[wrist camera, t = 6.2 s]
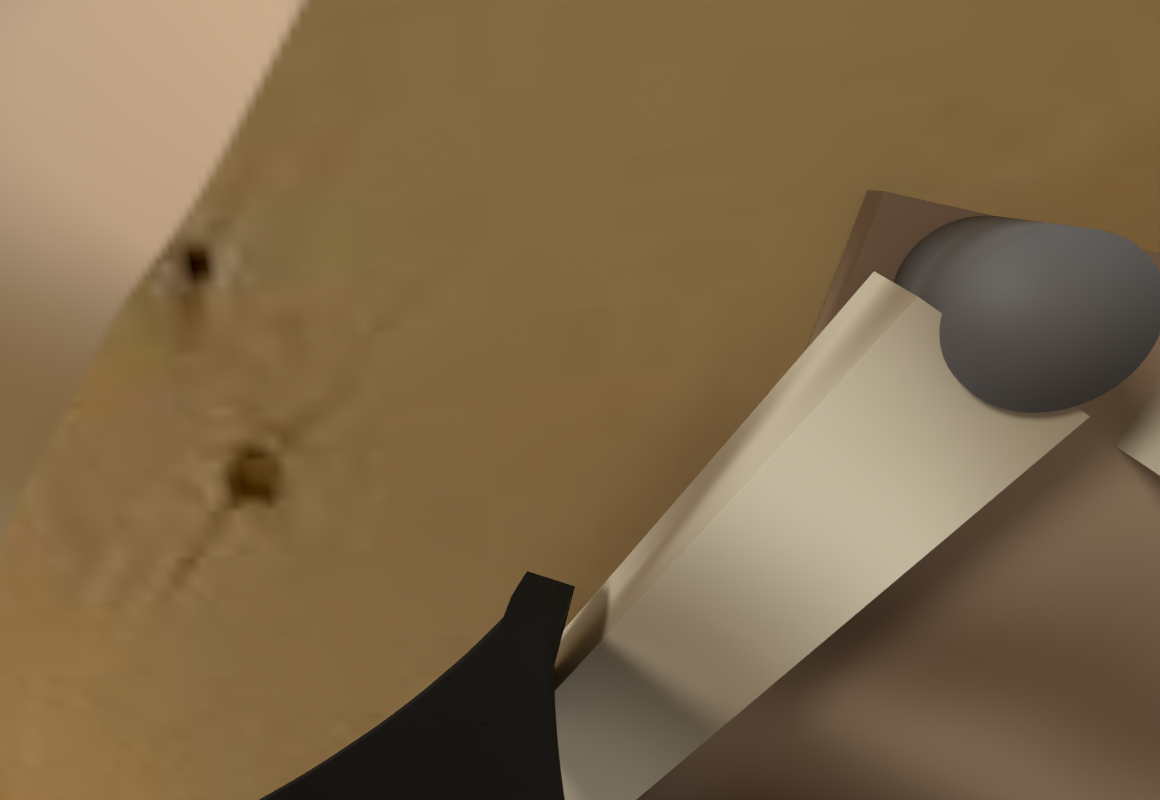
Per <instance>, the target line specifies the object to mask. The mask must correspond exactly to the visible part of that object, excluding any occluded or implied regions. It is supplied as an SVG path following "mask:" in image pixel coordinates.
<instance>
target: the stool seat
mask: <svg viewBox="0 0 1160 800" xmlns="http://www.w3.org/2000/svg"><path fill="white" fill-rule="evenodd" d="M974 216H991V215H986V214H982V213H977V212H973V211H968V210H964V209H960V208H955V207H951V206H946V205H942V204H937V203H933V202H929V201H924V200H920V199H915V198H911V197H906V196H902V195H897V194H893V193H889V192H884V191H869V190H868V191H867V194H866V196H865V199H864V201H863V204H862V207H861V209H860V212H859V215H858V217H857V220H856V222H855V225H854V228H853V230H852V233H851V235H850V238H849V241H848V243H847V246H846V248H845V251H844V254H843V256H842V259H841V261H840V264H839V267H838V269H837V272H836V274H835V277H834V280H833V282H832V285H831V288H830V290H829V293H828V295H827V298H826V301H825V303H824V306H823V308H822V311H821V314H820V316H819V319H818V321H817V324H816V327H815V329H814V332H813V334H812V337H811V340H810V342H809V345H808V347H809V346H810V345H811V344H812V342H813V341H814V340H815V339H816V338H817V337H818V336H819V334H820V333H821V332H822V331H823V330H824V329H825V327H826V326H827V325H828V324H829V323H830V322H831V321H832V319H833V318H834V317H835V316H836V315H837V314H838V312H839V311H840V310H841V309H842V308H843V307H844V305H845V304H846V303H847V302H848V301H849V300H850V299H851V297H852V296H853V295H854V294H855V293H856V292H857V290H858V289H859V288H860V287H861V286H862V285H863V283H864V282H865V281H866V280H867V279H868V278H869V277H870V275H871V274H872V273H873V272H876V273H878V274H880V275H881V276H883V277H885V278H887V279H888V280H890V281H892V282H894V279H895V276H896V274H897V271H898V269H899V267H900V265H901V264H902V262H903V260H904V259H905V257H906V256H907V255H908V253H909V252H910V251H911V249H912V248H913V247H914V246H915V245H916V244H917V243H918V242H919V241H921V240H922V239H923V238H924V237H926V236H927V235H928V234H930V233H931V232H933V231H934V230H936V229H938V228H940V227H942V226H944V225H946V224H948V223H951V222H953V221H956V220H959V219H963V218H967V217H974ZM1143 251H1144V252H1146V253H1147V255H1148V256H1149V257H1150V258H1151V259H1152V261H1153V262H1154V263H1155V265H1156V267H1157V268H1158V270H1159V272H1160V254H1159V253H1155V252H1150V251H1146V250H1143ZM808 347H807V348H808ZM1076 407H1077V408H1078V409H1080V410H1081V411H1083V412H1084V413H1086V414H1087V415H1089V416H1090V417H1089V418H1088V419H1087V420H1085V421H1084V422H1083V423H1082V424H1081V425H1079V426H1078V427H1077V428H1076V429H1075V430H1074V431H1072V432H1071V433H1070V434H1069V435H1068V436H1066V437H1065V438H1064V439H1063V440H1062V441H1060V442H1059V443H1058V444H1057V445H1056V446H1055V447H1053V448H1052V449H1051V450H1050V451H1049V452H1047V453H1046V454H1045V455H1044V456H1043V457H1042V458H1040V459H1039V460H1038V461H1037V462H1036V463H1034V464H1033V465H1032V466H1031V467H1030V468H1029V469H1027V470H1026V471H1025V472H1024V473H1023V474H1021V475H1020V476H1019V477H1018V478H1017V479H1015V480H1014V481H1013V482H1012V483H1011V484H1010V485H1008V486H1007V487H1006V488H1005V489H1004V490H1002V491H1001V492H1000V493H999V494H998V495H997V496H995V497H994V498H993V499H992V500H991V501H989V502H988V503H987V504H986V505H985V506H984V507H982V508H981V509H980V510H979V511H978V512H976V513H975V514H974V515H973V516H972V517H970V518H969V519H968V520H967V521H966V522H965V523H963V524H962V525H961V526H960V527H959V528H957V529H956V530H955V531H954V532H953V533H952V534H950V535H949V536H948V537H947V538H946V539H944V540H943V541H942V542H941V543H940V544H938V545H937V546H936V547H935V548H934V549H933V550H931V551H930V552H929V553H928V554H927V555H925V556H924V557H923V558H922V559H921V560H920V561H918V562H917V563H916V564H915V565H914V566H912V567H911V568H910V569H909V570H908V571H907V572H905V573H904V574H903V575H902V576H901V577H899V578H898V579H897V580H896V581H895V582H893V583H892V584H891V585H890V586H889V587H888V588H886V589H885V590H884V591H883V592H882V593H880V594H879V595H878V596H877V597H876V598H875V599H873V600H872V601H871V602H870V603H869V604H867V605H866V606H865V607H864V608H863V609H862V610H860V611H859V612H858V613H857V614H856V615H854V616H853V617H852V618H851V619H850V620H848V621H847V622H846V623H845V624H844V625H843V626H841V627H840V628H839V629H838V630H837V631H835V632H834V633H833V634H832V635H831V636H830V637H828V638H827V639H826V640H825V641H824V642H822V643H821V644H820V645H819V646H818V647H817V648H815V649H814V650H813V651H812V652H811V653H809V654H808V655H807V656H806V657H805V658H803V659H802V660H801V661H800V662H799V663H798V664H796V665H795V666H794V667H793V668H792V669H790V670H789V671H788V672H787V673H786V674H785V675H783V676H782V677H781V678H780V679H779V680H777V681H776V682H775V683H774V684H773V685H771V686H770V687H769V688H768V689H767V690H766V691H764V692H763V693H762V694H761V695H760V696H758V697H757V698H756V699H755V700H754V701H753V702H751V703H750V704H749V705H748V706H747V707H745V708H744V709H743V710H742V711H741V712H740V713H738V714H737V715H736V716H735V717H734V718H732V719H731V720H730V721H729V722H728V723H726V724H725V725H724V726H723V727H722V728H721V729H719V730H718V731H717V732H716V733H715V734H713V735H712V736H711V737H710V738H709V739H708V740H706V741H705V742H704V743H703V744H702V745H700V746H699V747H698V748H697V749H696V750H695V751H693V752H692V753H691V754H690V755H689V756H687V757H686V758H685V759H684V760H683V761H681V762H680V763H679V764H678V765H677V766H676V767H674V768H673V769H672V770H671V771H670V772H668V773H667V774H666V775H665V776H664V777H663V778H661V779H660V780H659V781H658V782H657V783H655V784H654V785H653V786H652V787H651V788H650V789H648V790H647V791H646V792H645V793H644V794H642V795H641V796H640V797H639V798H638V799H636V800H1160V335H1159V337H1158V339H1157V341H1156V343H1155V345H1154V347H1153V348H1152V350H1151V351H1150V353H1149V354H1148V356H1147V357H1146V359H1145V360H1144V361H1143V362H1142V363H1141V365H1140V366H1139V367H1138V368H1137V369H1136V370H1135V371H1134V372H1133V373H1132V374H1131V375H1130V376H1129V377H1128V378H1127V379H1125V380H1124V381H1123V382H1121V383H1120V384H1119V385H1117V386H1116V387H1115V388H1113V389H1111V390H1110V391H1108V392H1107V393H1105V394H1103V395H1101V396H1099V397H1097V398H1095V399H1093V400H1091V401H1089V402H1086V403H1083V404H1081V405H1078V406H1076Z"/></svg>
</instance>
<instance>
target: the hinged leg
mask: <svg viewBox="0 0 1160 800" xmlns="http://www.w3.org/2000/svg"><path fill="white" fill-rule="evenodd" d="M1159 335H1160V272H1159V270H1158V268H1157V267H1156V265H1155V263H1154V262H1153V261H1152V259H1151V258H1150V257H1149V256H1148V255H1147V253H1146V252H1144V251H1143V250H1142V249H1141V248H1140V247H1138V246H1137V245H1136V244H1134V243H1132V242H1131V241H1129V240H1127V239H1126V238H1124V237H1121V236H1119V235H1116V234H1114V233H1111V232H1107V231H1103V230H1099V229H1091V228H1083V227H1075V226H1068V225H1060V224H1052V223H1044V222H1036V221H1029V220H1021V219H1013V218H1005V217H997V216H974V217H967V218H963V219H959V220H956V221H953V222H951V223H948V224H946V225H944V226H942V227H940V228H938V229H936V230H934V231H933V232H931V233H930V234H928V235H927V236H926V237H924V238H923V239H922V240H921V241H919V242H918V243H917V244H916V245H915V246H914V247H913V248H912V249H911V251H910V252H909V253H908V255H907V256H906V257H905V259H904V260H903V262H902V264H901V265H900V267H899V269H898V271H897V274H896V276H895V279H894V282H892V281H890V280H888V279H887V278H885V277H883V276H881V275H880V274H878V273H876V272H873V273H872V274H871V275H870V277H869V278H868V279H867V280H866V281H865V282H864V283H863V285H862V286H861V287H860V288H859V289H858V290H857V292H856V293H855V294H854V295H853V296H852V297H851V299H850V300H849V301H848V302H847V303H846V304H845V305H844V307H843V308H842V309H841V310H840V311H839V312H838V314H837V315H836V316H835V317H834V318H833V319H832V321H831V322H830V323H829V324H828V325H827V326H826V327H825V329H824V330H823V331H822V332H821V333H820V334H819V336H818V337H817V338H816V339H815V340H814V341H813V342H812V344H811V345H810V346H809V347H808V348H807V349H806V351H805V352H804V353H803V354H802V355H801V356H800V358H799V359H798V360H797V361H796V362H795V363H794V364H793V366H792V367H791V368H790V369H789V370H788V371H787V373H786V374H785V375H784V376H783V377H782V378H781V379H780V381H779V382H778V383H777V384H776V385H775V386H774V388H773V389H772V390H771V391H770V392H769V393H768V395H767V396H766V397H765V398H764V399H763V400H762V401H761V403H760V404H759V405H758V406H757V407H756V408H755V410H754V411H753V412H752V413H751V414H750V415H749V417H748V418H747V419H746V420H745V421H744V422H743V423H742V425H741V426H740V427H739V428H738V429H737V430H736V432H735V433H734V434H733V435H732V436H731V437H730V438H729V440H728V441H727V442H726V443H725V444H724V445H723V447H722V448H721V449H720V450H719V451H718V452H717V454H716V455H715V456H714V457H713V458H712V459H711V460H710V462H709V463H708V464H707V465H706V466H705V467H704V469H703V470H702V471H701V472H700V473H699V474H698V475H697V477H696V478H695V479H694V480H693V481H692V482H691V484H690V485H689V486H688V487H687V488H686V489H685V491H684V492H683V493H682V494H681V495H680V496H679V497H678V499H677V500H676V501H675V502H674V503H673V504H672V506H671V507H670V508H669V509H668V510H667V511H666V513H665V514H664V515H663V516H662V517H661V518H660V519H659V521H658V522H657V523H656V524H655V525H654V526H653V528H652V529H651V530H650V531H649V532H648V533H647V534H646V536H645V537H644V538H643V539H642V540H641V541H640V543H639V544H638V545H637V546H636V547H635V548H634V550H633V551H632V552H631V553H630V554H629V555H628V556H627V558H626V559H625V560H624V561H623V562H622V563H621V565H620V566H619V567H618V568H617V569H616V570H615V572H614V573H613V574H612V575H611V576H610V577H609V578H608V580H607V581H606V582H605V583H604V584H603V585H602V587H601V588H600V589H599V590H598V591H597V592H596V593H595V595H594V596H593V597H592V598H591V599H590V600H589V602H588V603H587V604H586V605H585V606H584V607H583V609H582V610H581V611H580V612H579V613H578V614H577V615H576V617H575V618H574V619H573V620H572V621H571V622H570V624H569V625H568V626H567V627H566V628H565V629H564V630H563V634H562V638H561V642H560V646H559V650H558V654H557V658H556V662H555V709H556V724H557V738H558V748H559V758H560V767H561V776H562V783H563V790H564V798H565V800H636V799H638V798H639V797H640V796H641V795H642V794H644V793H645V792H646V791H647V790H648V789H650V788H651V787H652V786H653V785H654V784H655V783H657V782H658V781H659V780H660V779H661V778H663V777H664V776H665V775H666V774H667V773H668V772H670V771H671V770H672V769H673V768H674V767H676V766H677V765H678V764H679V763H680V762H681V761H683V760H684V759H685V758H686V757H687V756H689V755H690V754H691V753H692V752H693V751H695V750H696V749H697V748H698V747H699V746H700V745H702V744H703V743H704V742H705V741H706V740H708V739H709V738H710V737H711V736H712V735H713V734H715V733H716V732H717V731H718V730H719V729H721V728H722V727H723V726H724V725H725V724H726V723H728V722H729V721H730V720H731V719H732V718H734V717H735V716H736V715H737V714H738V713H740V712H741V711H742V710H743V709H744V708H745V707H747V706H748V705H749V704H750V703H751V702H753V701H754V700H755V699H756V698H757V697H758V696H760V695H761V694H762V693H763V692H764V691H766V690H767V689H768V688H769V687H770V686H771V685H773V684H774V683H775V682H776V681H777V680H779V679H780V678H781V677H782V676H783V675H785V674H786V673H787V672H788V671H789V670H790V669H792V668H793V667H794V666H795V665H796V664H798V663H799V662H800V661H801V660H802V659H803V658H805V657H806V656H807V655H808V654H809V653H811V652H812V651H813V650H814V649H815V648H817V647H818V646H819V645H820V644H821V643H822V642H824V641H825V640H826V639H827V638H828V637H830V636H831V635H832V634H833V633H834V632H835V631H837V630H838V629H839V628H840V627H841V626H843V625H844V624H845V623H846V622H847V621H848V620H850V619H851V618H852V617H853V616H854V615H856V614H857V613H858V612H859V611H860V610H862V609H863V608H864V607H865V606H866V605H867V604H869V603H870V602H871V601H872V600H873V599H875V598H876V597H877V596H878V595H879V594H880V593H882V592H883V591H884V590H885V589H886V588H888V587H889V586H890V585H891V584H892V583H893V582H895V581H896V580H897V579H898V578H899V577H901V576H902V575H903V574H904V573H905V572H907V571H908V570H909V569H910V568H911V567H912V566H914V565H915V564H916V563H917V562H918V561H920V560H921V559H922V558H923V557H924V556H925V555H927V554H928V553H929V552H930V551H931V550H933V549H934V548H935V547H936V546H937V545H938V544H940V543H941V542H942V541H943V540H944V539H946V538H947V537H948V536H949V535H950V534H952V533H953V532H954V531H955V530H956V529H957V528H959V527H960V526H961V525H962V524H963V523H965V522H966V521H967V520H968V519H969V518H970V517H972V516H973V515H974V514H975V513H976V512H978V511H979V510H980V509H981V508H982V507H984V506H985V505H986V504H987V503H988V502H989V501H991V500H992V499H993V498H994V497H995V496H997V495H998V494H999V493H1000V492H1001V491H1002V490H1004V489H1005V488H1006V487H1007V486H1008V485H1010V484H1011V483H1012V482H1013V481H1014V480H1015V479H1017V478H1018V477H1019V476H1020V475H1021V474H1023V473H1024V472H1025V471H1026V470H1027V469H1029V468H1030V467H1031V466H1032V465H1033V464H1034V463H1036V462H1037V461H1038V460H1039V459H1040V458H1042V457H1043V456H1044V455H1045V454H1046V453H1047V452H1049V451H1050V450H1051V449H1052V448H1053V447H1055V446H1056V445H1057V444H1058V443H1059V442H1060V441H1062V440H1063V439H1064V438H1065V437H1066V436H1068V435H1069V434H1070V433H1071V432H1072V431H1074V430H1075V429H1076V428H1077V427H1078V426H1079V425H1081V424H1082V423H1083V422H1084V421H1085V420H1087V419H1088V418H1089V417H1090V416H1089V415H1087V414H1086V413H1084V412H1083V411H1081V410H1080V409H1078V408H1077V407H1076V406H1078V405H1081V404H1083V403H1086V402H1089V401H1091V400H1093V399H1095V398H1097V397H1099V396H1101V395H1103V394H1105V393H1107V392H1108V391H1110V390H1111V389H1113V388H1115V387H1116V386H1117V385H1119V384H1120V383H1121V382H1123V381H1124V380H1125V379H1127V378H1128V377H1129V376H1130V375H1131V374H1132V373H1133V372H1134V371H1135V370H1136V369H1137V368H1138V367H1139V366H1140V365H1141V363H1142V362H1143V361H1144V360H1145V359H1146V357H1147V356H1148V354H1149V353H1150V351H1151V350H1152V348H1153V347H1154V345H1155V343H1156V341H1157V339H1158V337H1159Z"/></svg>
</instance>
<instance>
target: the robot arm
mask: <svg viewBox="0 0 1160 800" xmlns="http://www.w3.org/2000/svg"><path fill="white" fill-rule="evenodd" d="M574 588H575V586H572V585H568V584H565V583H562V582H559V581H556V580H553V579H550V578H547V577H543V576H540V575H537V574H534V573H531V572H528V571H527V573H526V574H525V576H524V577H523V579H522V580H521V582H520V583H519V585H518V587H517V588H516V590H515V592H514V593H513V595H512V597H511V599H510V602H509V604H508V607H507V610H506V612H505V615H504V617H503V618H502V619H501V620H500V621H499V622H498V623H497V624H496V625H495V626H494V627H493V628H492V629H491V630H490V631H489V632H488V633H487V634H486V635H485V636H484V637H483V638H482V639H481V640H480V641H479V642H478V643H477V644H476V645H475V646H474V647H473V648H472V649H471V650H470V651H469V652H468V653H467V654H465V655H464V656H463V657H462V658H461V659H460V660H459V661H458V662H456V663H455V664H454V665H453V666H452V667H451V668H449V669H448V670H447V671H446V672H445V673H444V674H442V675H441V676H440V677H439V678H438V679H437V680H435V681H434V682H433V683H432V684H431V685H430V686H428V687H427V688H426V689H425V690H424V691H422V692H421V693H420V694H419V695H417V696H416V697H415V698H414V699H412V700H411V701H410V702H408V703H407V704H406V705H404V706H403V707H402V708H401V709H399V710H398V711H397V712H395V713H394V714H393V715H391V716H390V717H388V718H387V719H386V720H384V721H383V722H382V723H380V724H379V725H377V726H376V727H375V728H373V729H372V730H370V731H369V732H368V733H366V734H365V735H363V736H362V737H360V738H359V739H357V740H356V741H354V742H353V743H351V744H350V745H348V746H347V747H345V748H344V749H342V750H341V751H339V752H338V753H336V754H335V755H333V756H332V757H330V758H329V759H327V760H326V761H324V762H322V763H321V764H319V765H318V766H316V767H314V768H313V769H311V770H310V771H308V772H306V773H305V774H303V775H301V776H300V777H298V778H296V779H295V780H293V781H291V782H289V783H288V784H286V785H284V786H282V787H281V788H279V789H277V790H275V791H274V792H272V793H270V794H268V795H267V796H265V797H263V798H261V799H260V800H565V798H564V790H563V783H562V776H561V767H560V758H559V748H558V738H557V724H556V709H555V662H556V658H557V654H558V650H559V646H560V642H561V638H562V634H563V630H564V627H565V623H566V619H567V615H568V611H569V607H570V603H571V599H572V596H573V592H574Z"/></svg>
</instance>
